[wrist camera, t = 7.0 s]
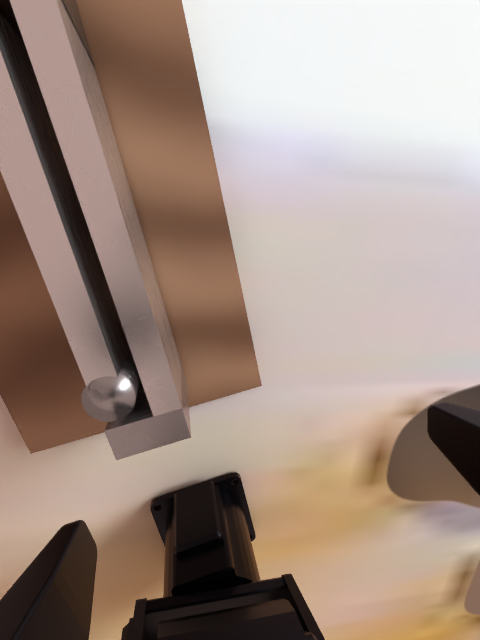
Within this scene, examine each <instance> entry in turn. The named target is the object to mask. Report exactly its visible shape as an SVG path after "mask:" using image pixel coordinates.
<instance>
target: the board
mask: <svg viewBox="0 0 480 640" xmlns="http://www.w3.org/2000/svg"><path fill="white" fill-rule="evenodd" d="M76 3H77V6H78V10H79V13H80V16H81V20H82V23H83V27H84V30H85V33H86V37H87V40H88V44H89V47H90V51H91V54H92V57H93V61H94V64H95V67H94V68H95V72H96V75H97V79H98V82H99V85H100V89H101V92H102V96H103V99H104V102H105V106H106V109H107V113H108V116H109V120H110V123H111V126H112V130H113V133H114V137H115V140H116V143H117V147H118V150H119V154H120V157H121V160H122V164H123V167H124V171H125V174H126V177H127V181H128V184H129V188H130V191H131V194H132V198H133V201H134V205H135V208H136V211H137V215H138V218H139V222H140V225H141V228H142V232H143V235H144V239H145V242H146V246H147V249H148V252H149V256H150V259H151V263H152V266H153V269H154V273H155V276H156V280H157V283H158V286H159V290H160V293H161V297H162V300H163V303H164V307H165V310H166V314H167V317H168V320H169V324H170V327H171V331H172V334H173V337H174V341H175V344H176V348H177V351H178V354H179V358H180V361H181V365H182V368H183V372H184V375H185V378H186V382H187V389H188V403H189V407H191V406H194V405H198V404H201V403H205V402H208V401H211V400H215V399H218V398H222V397H225V396H228V395H232V394H235V393H239V392H242V391H245V390H249V389H252V388H256V387H259V386H262V385H261V380H260V375H259V371H258V366H257V361H256V356H255V351H254V347H253V342H252V337H251V332H250V327H249V322H248V318H247V313H246V308H245V303H244V298H243V294H242V289H241V284H240V279H239V274H238V270H237V265H236V260H235V255H234V250H233V246H232V241H231V236H230V231H229V226H228V222H227V217H226V212H225V207H224V202H223V197H222V193H221V188H220V183H219V178H218V173H217V169H216V164H215V159H214V154H213V149H212V145H211V140H210V135H209V130H208V125H207V121H206V116H205V111H204V106H203V101H202V97H201V92H200V87H199V82H198V77H197V72H196V68H195V63H194V58H193V53H192V48H191V44H190V39H189V34H188V29H187V24H186V20H185V15H184V10H183V5H182V0H76ZM85 387H86V384H85V382H84V379H83V377H82V374H81V372H80V369H79V367H78V364H77V362H76V359H75V357H74V354H73V352H72V349H71V347H70V344H69V342H68V339H67V337H66V334H65V332H64V329H63V327H62V324H61V322H60V319H59V317H58V314H57V312H56V309H55V307H54V304H53V302H52V299H51V297H50V294H49V292H48V289H47V287H46V284H45V282H44V279H43V277H42V274H41V271H40V269H39V266H38V264H37V261H36V259H35V256H34V254H33V251H32V249H31V246H30V244H29V241H28V239H27V236H26V234H25V231H24V229H23V226H22V224H21V221H20V219H19V216H18V214H17V211H16V209H15V206H14V204H13V201H12V199H11V196H10V194H9V191H8V189H7V186H6V184H5V181H4V179H3V176H2V174H1V171H0V395H1V397H2V399H3V400H4V402H5V404H6V406H7V408H8V410H9V412H10V414H11V416H12V418H13V420H14V422H15V424H16V426H17V428H18V430H19V432H20V433H21V435H22V437H23V439H24V441H25V443H26V445H27V447H28V449H29V451H30V453H34V452H38V451H41V450H45V449H48V448H51V447H55V446H58V445H62V444H65V443H68V442H72V441H75V440H79V439H82V438H85V437H89V436H92V435H96V434H99V433H102V432H105V428H106V425H107V423H108V422H105V421H99V420H96V419H94V418H93V417H91V416H90V415H88V414H87V412H86V411H85V410H84V408H83V406H82V402H81V397H82V393H83V390H84V388H85Z"/></svg>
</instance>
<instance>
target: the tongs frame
mask: <svg viewBox="0 0 480 640" xmlns="http://www.w3.org/2000/svg"><path fill="white" fill-rule="evenodd" d="M10 3H11V6H12V8H13V11H14V14H15V17H16V20H17V23H18V26H19V29H20V32H21V34H22V37H23V40H24V43H25V46H26V49H27V52H28V55H29V58H30V61H31V63H32V66H33V69H34V72H35V75H36V78H37V81H38V84H39V87H40V89H41V92H42V95H43V98H44V101H45V104H46V107H47V110H48V113H49V115H50V118H51V121H52V124H53V127H54V130H55V133H56V136H57V139H58V142H59V144H60V147H61V150H62V153H63V156H64V159H65V162H66V165H67V168H68V170H69V173H70V176H71V179H72V182H73V185H74V188H75V191H76V194H77V197H78V199H79V202H80V205H81V208H82V211H83V214H84V217H85V220H86V223H87V225H88V228H89V231H90V234H91V237H92V240H93V243H94V246H95V249H96V252H97V254H98V257H99V260H100V263H101V266H102V269H103V272H104V275H105V278H106V280H107V283H108V286H109V289H110V292H111V295H112V298H113V301H114V304H115V307H116V309H117V312H118V315H119V318H120V321H121V324H122V327H123V330H124V333H125V335H126V338H127V341H128V344H129V347H130V350H131V353H132V356H133V359H134V361H135V364H136V367H137V370H138V373H139V376H140V379H141V380H140V385H139V389H138V393H137V397H136V401H135V404H134V407H133V409H132V410H131V412H130V413H129V414H128V415H127V416H125V417H124V418H122V419H120V420H117V421H112V422H108V423H107V425H106V428H105V433H106V436H107V438H108V441H109V443H110V446H111V448H112V451H113V453H114V455H115V458H116V460H119V459H122V458H125V457H128V456H132V455H135V454H138V453H141V452H145V451H148V450H151V449H154V448H158V447H161V446H164V445H167V444H171V443H174V442H177V441H180V440H184V439H187V438H190V437H191V431H190V417H189V403H188V389H187V382H186V378H185V375H184V372H183V368H182V365H181V361H180V358H179V354H178V351H177V348H176V344H175V341H174V337H173V334H172V331H171V327H170V324H169V320H168V317H167V314H166V310H165V307H164V303H163V300H162V297H161V293H160V290H159V286H158V283H157V280H156V276H155V273H154V269H153V266H152V263H151V259H150V256H149V252H148V249H147V246H146V242H145V239H144V235H143V232H142V228H141V225H140V222H139V218H138V215H137V211H136V208H135V205H134V201H133V198H132V194H131V191H130V188H129V184H128V181H127V177H126V174H125V171H124V167H123V164H122V160H121V157H120V154H119V150H118V147H117V143H116V140H115V137H114V133H113V130H112V126H111V123H110V120H109V116H108V113H107V109H106V106H105V102H104V99H103V96H102V92H101V89H100V85H99V82H98V79H97V75H96V72H95V68H94V67H95V64H94V61H93V57H92V54H91V51H90V47H89V44H88V40H87V37H86V33H85V30H84V27H83V23H82V20H81V16H80V13H79V10H78V6H77V3H76V0H10Z"/></svg>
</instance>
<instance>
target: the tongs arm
mask: <svg viewBox="0 0 480 640" xmlns="http://www.w3.org/2000/svg"><path fill="white" fill-rule="evenodd" d="M0 171H1V174H2V176H3V179H4V181H5V184H6V186H7V189H8V191H9V194H10V196H11V199H12V201H13V204H14V206H15V209H16V211H17V214H18V216H19V219H20V221H21V224H22V226H23V229H24V231H25V234H26V236H27V239H28V241H29V244H30V246H31V249H32V251H33V254H34V256H35V259H36V261H37V264H38V266H39V269H40V271H41V274H42V277H43V279H44V282H45V284H46V287H47V289H48V292H49V294H50V297H51V299H52V302H53V304H54V307H55V309H56V312H57V314H58V317H59V319H60V322H61V324H62V327H63V329H64V332H65V334H66V337H67V339H68V342H69V344H70V347H71V349H72V352H73V354H74V357H75V359H76V362H77V364H78V367H79V369H80V372H81V374H82V377H83V379H84V382H85V384H86V387H85V388H84V390H83V393H82V397H81V402H82V406H83V408H84V410H85V411H86V412H87V414H88V415H90V416H91V417H93V418H94V419H96V420H99V421H105V422H112V421H117V420H120V419H122V418H124V417H125V416H127V415H128V414H129V413H130V412H131V410H132V409H133V407H134V404H135V401H136V397H137V393H138V389H139V385H140V380H141V379H140V376H139V373H138V370H137V367H136V364H135V361H134V359H133V356H132V353H131V350H130V347H129V344H128V341H127V338H126V335H125V333H124V330H123V327H122V324H121V321H120V318H119V315H118V312H117V309H116V307H115V304H114V301H113V298H112V295H111V292H110V289H109V286H108V283H107V280H106V278H105V275H104V272H103V269H102V266H101V263H100V260H99V257H98V254H97V252H96V249H95V246H94V243H93V240H92V237H91V234H90V231H89V228H88V225H87V223H86V220H85V217H84V214H83V211H82V208H81V205H80V202H79V199H78V197H77V194H76V191H75V188H74V185H73V182H72V179H71V176H70V173H69V170H68V168H67V165H66V162H65V159H64V156H63V153H62V150H61V147H60V144H59V142H58V139H57V136H56V133H55V130H54V127H53V124H52V121H51V118H50V115H49V113H48V110H47V107H46V104H45V101H44V98H43V95H42V92H41V89H40V87H39V84H38V81H37V78H36V75H35V72H34V69H33V66H32V63H31V61H30V58H29V55H28V52H27V49H26V46H25V43H24V40H23V37H22V34H21V32H20V29H19V26H18V23H17V20H16V17H15V14H14V11H13V8H12V6H11V3H10V0H0Z"/></svg>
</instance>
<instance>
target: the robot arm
mask: <svg viewBox="0 0 480 640" xmlns="http://www.w3.org/2000/svg"><path fill="white" fill-rule="evenodd" d="M427 432H428V435H429V437H430V439H431V440H432V441H433V443H434V444H435V445H436V446H437V447H438V448H439V450H440V451H441V452H442V453H443V454H444V455H445V457H446V458H447V459H448V460H449V461H450V462H451V464H452V465H453V466H454V467H455V468H456V469H457V471H458V472H459V473H460V474H461V475H462V477H464V479H465V480H466V481H467V482H468V483H469V485H470V486H471V487H472V488H473V489H474V490H475V491H476V492H477V493H478V494H479V495H480V411H479V410H475V409H471V408H467V407H463V406H459V405H455V404H451V403H447V402H439V403H436V404H432V405H430V406H428V408H427ZM234 479H236V480H235V481H232V480H234ZM156 505H160V506H156ZM150 509H151V513H152V515H153V518H154V520H155V523H156V525H157V528H158V530H159V533H160V535H161V538H162V540H163V543H164V546H165V567H164V595H163V598H157V599H151V600H147V598H144V599H138V600H136V604H135V610H134V617H133V618H130V621H129V623H128V624H127V625H126V626H125V627H124V628H123V631H122V638H121V640H325V639H324V637H323V635H322V633H321V631H320V629H319V627H318V625H317V623H316V621H315V619H314V617H313V615H312V613H311V611H310V610H309V608H308V606H307V604H306V602H305V600H304V598H303V596H302V594H301V592H300V590H299V588H298V586H297V584H296V582H295V580H294V578H293V576H292V574H285V575H282V576H281V577H279V578H273V579H267V580H262V581H261V580H260V576H259V572H258V568H257V564H256V560H255V556H254V552H253V548H252V543H251V541H253V540H254V539H255V531H254V527H253V524H252V520H251V516H250V512H249V508H248V504H247V501H246V497H245V493H244V489H243V485H242V481H241V477H240V475H239V474H238V473H236V472H234V473H230V474H227V475H224V476H221V477H218V478H215V479H212V480H208V481H205V482H202V483H199V484H196V485H193V486H190V487H187V488H184V489H181V490H178V491H175V492H172V493H169V494H166V495H163V496H160V497H157V498H155V499H153V500H152V502H151V507H150ZM96 561H97V547H96V544H95V541H94V539H93V537H92V535H91V533H90V531H89V529H88V527H87V525H86V523H85V522H84V521H83V520H78V521H75V522H72V523H69V524H66V525H64V526H63V527H61V528H60V530H59V531H58V532H57V533H56V534H55V535H54V537H53V538H52V539H51V540H50V541H49V543H48V544H47V545H46V546H45V547H44V549H43V550H42V551H41V552H40V553H39V555H38V556H37V557H36V558H35V559H34V560H33V562H32V563H31V564H30V565H29V566H28V568H27V569H26V570H25V571H24V572H23V574H22V575H21V576H20V577H19V578H18V580H17V581H16V582H15V583H14V584H13V586H12V587H11V588H10V589H9V590H8V591H7V593H6V594H5V595H4V596H3V597H2V599H1V600H0V640H88V639H89V630H90V622H91V612H92V601H93V591H94V581H95V571H96Z"/></svg>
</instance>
